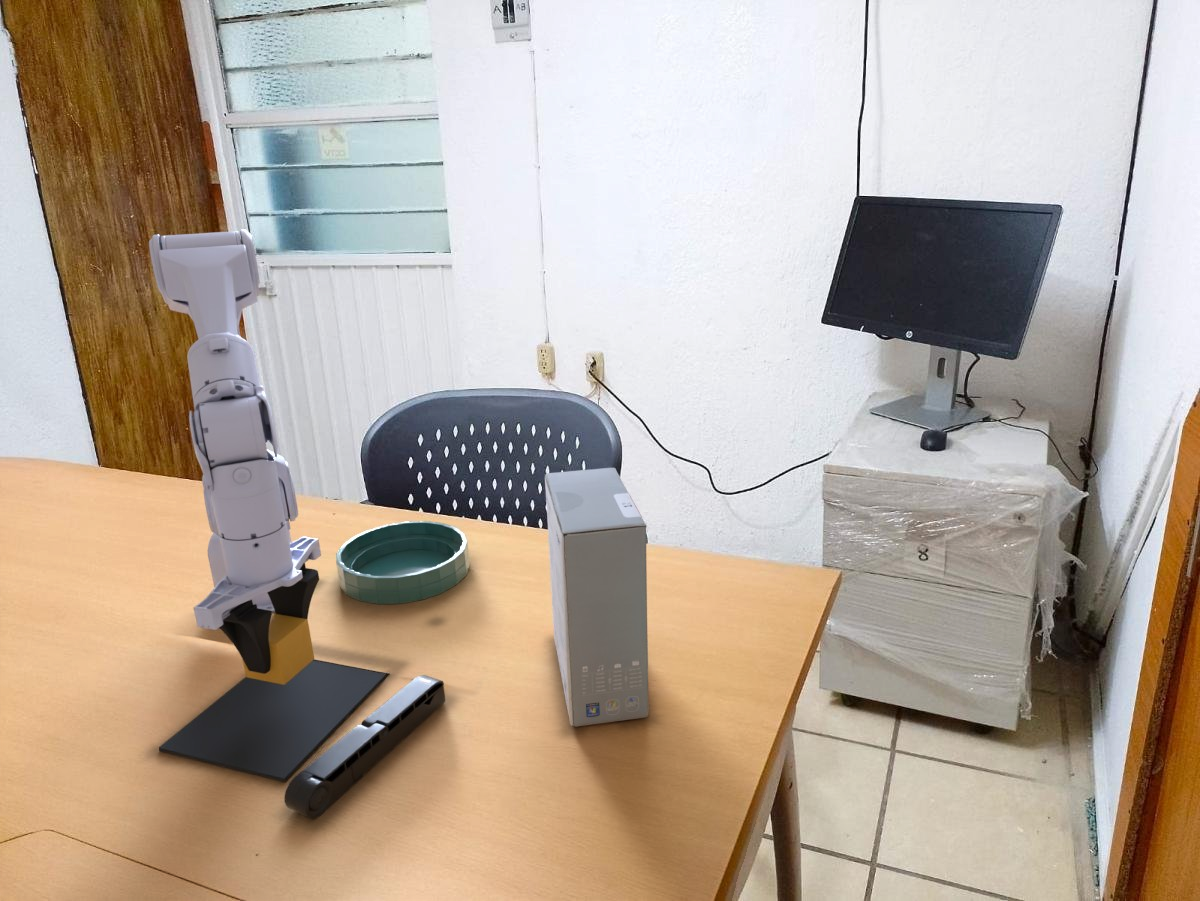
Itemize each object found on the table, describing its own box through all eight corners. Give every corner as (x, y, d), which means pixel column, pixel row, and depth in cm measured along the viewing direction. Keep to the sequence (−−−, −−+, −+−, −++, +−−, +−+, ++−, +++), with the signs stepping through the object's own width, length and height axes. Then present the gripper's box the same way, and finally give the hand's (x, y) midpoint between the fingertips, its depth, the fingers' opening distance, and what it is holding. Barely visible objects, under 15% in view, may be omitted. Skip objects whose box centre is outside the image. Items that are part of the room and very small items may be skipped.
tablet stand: (309, 826, 66) (303, 796, 66) (286, 816, 68) (280, 786, 67) (448, 701, 81) (445, 675, 80) (427, 694, 82) (424, 669, 81)
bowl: (313, 597, 102) (308, 568, 101) (386, 541, 116) (382, 515, 115) (429, 616, 97) (425, 585, 95) (490, 555, 111) (488, 528, 110)
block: (245, 677, 79) (237, 636, 77) (277, 651, 83) (269, 612, 81) (284, 685, 77) (276, 643, 76) (314, 658, 81) (307, 619, 80)
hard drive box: (651, 719, 78) (648, 526, 71) (570, 731, 76) (559, 535, 70) (620, 632, 92) (615, 464, 85) (552, 640, 91) (541, 471, 84)
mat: (158, 751, 76) (158, 747, 76) (288, 645, 92) (287, 642, 92) (284, 782, 71) (284, 778, 71) (397, 665, 87) (397, 662, 87)
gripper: (230, 568, 67) (259, 708, 72) (338, 500, 80) (356, 623, 85) (163, 558, 70) (195, 694, 74) (278, 494, 83) (299, 613, 87)
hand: (277, 655), depth 80 cm, fingers closed on block, 4 cm apart
